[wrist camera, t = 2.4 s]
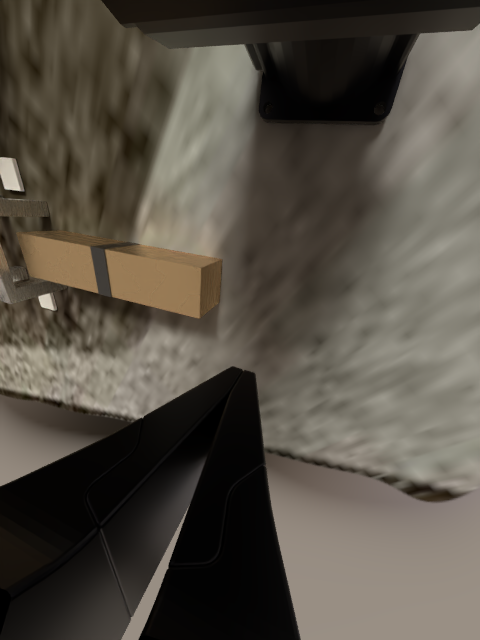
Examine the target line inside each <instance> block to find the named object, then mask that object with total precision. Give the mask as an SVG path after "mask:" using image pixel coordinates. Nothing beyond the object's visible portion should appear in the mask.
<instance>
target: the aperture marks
mask: <svg viewBox="0 0 480 640" xmlns="http://www.w3.org/2000/svg"><path fill="white" fill-rule="evenodd" d="M0 175H1V178H2V181H3V184H4V188H5V189H8V190H16V191H24V187H23V183H22V180H21V176H20V173H19V169H18V165H17V162H16V159H13V158H3V157H0ZM38 297H39V301H40V304H41V307H44V308H47V309H50V310H54V311H55V310H57V306H56V303H55V299H54V295H53V292H52V293H49V294H45V295H41V296H38Z"/></svg>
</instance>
